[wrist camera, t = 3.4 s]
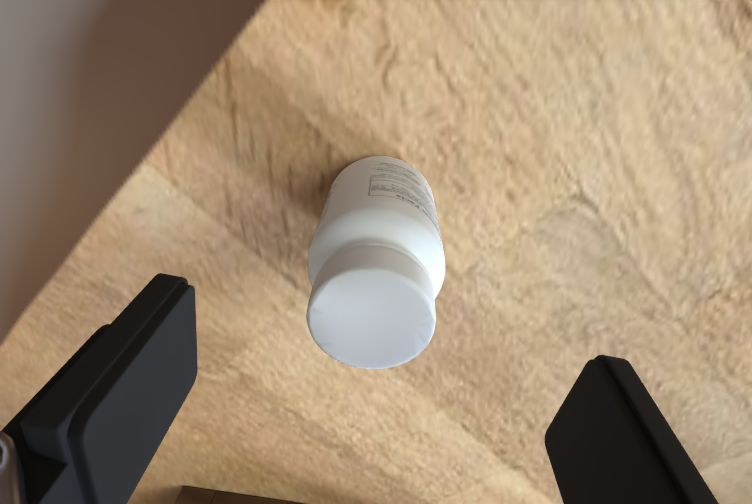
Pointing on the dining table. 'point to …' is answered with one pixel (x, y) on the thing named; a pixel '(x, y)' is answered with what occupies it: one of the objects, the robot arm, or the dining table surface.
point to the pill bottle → (375, 265)
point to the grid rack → (220, 497)
